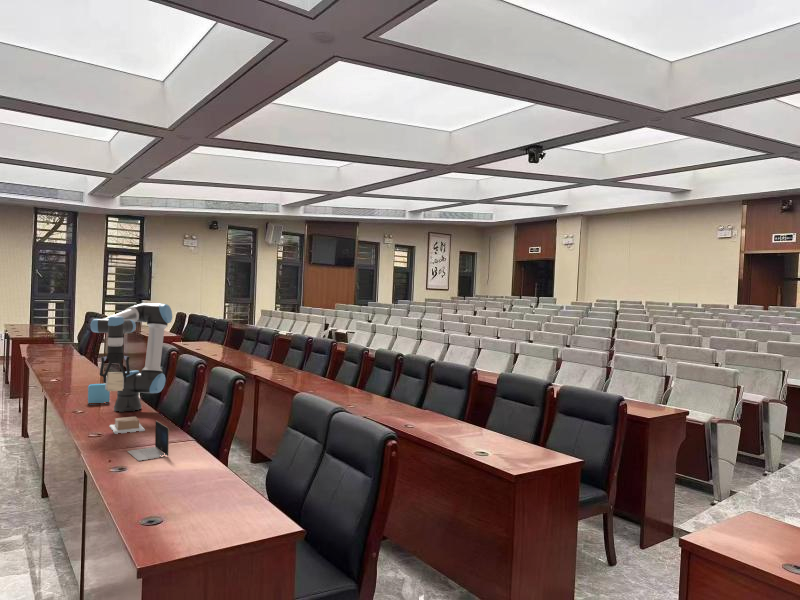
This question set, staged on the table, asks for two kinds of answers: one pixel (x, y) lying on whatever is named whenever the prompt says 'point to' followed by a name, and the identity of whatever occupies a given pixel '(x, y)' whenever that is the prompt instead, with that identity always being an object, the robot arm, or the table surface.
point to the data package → (98, 393)
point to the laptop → (160, 444)
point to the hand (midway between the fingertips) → (114, 388)
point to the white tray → (126, 425)
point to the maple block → (115, 381)
